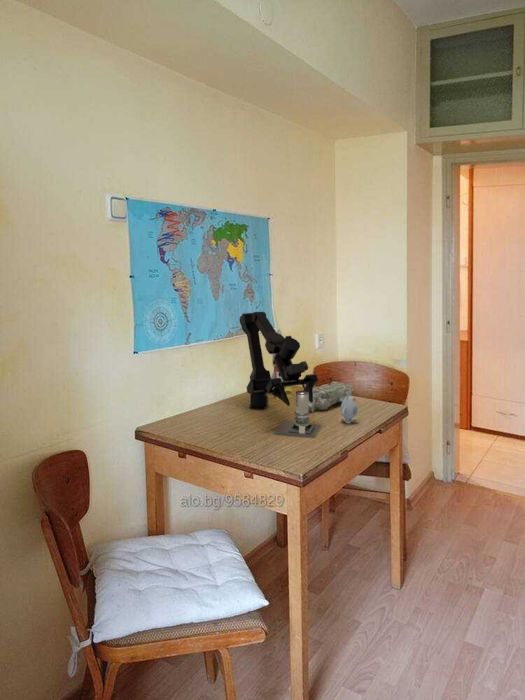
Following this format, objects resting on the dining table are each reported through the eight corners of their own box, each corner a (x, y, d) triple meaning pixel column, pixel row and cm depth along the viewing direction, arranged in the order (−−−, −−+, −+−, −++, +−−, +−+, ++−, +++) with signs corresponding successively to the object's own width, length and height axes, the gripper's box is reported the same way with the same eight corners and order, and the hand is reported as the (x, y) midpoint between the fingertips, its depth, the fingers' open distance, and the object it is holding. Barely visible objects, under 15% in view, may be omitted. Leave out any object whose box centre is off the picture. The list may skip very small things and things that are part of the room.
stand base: (274, 434, 184) (274, 424, 183) (283, 423, 195) (283, 414, 195) (314, 438, 180) (314, 428, 179) (321, 427, 191) (321, 417, 191)
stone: (363, 374, 223) (317, 397, 203) (363, 397, 226) (318, 422, 206) (339, 369, 232) (293, 390, 212) (340, 391, 235) (295, 414, 215)
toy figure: (349, 427, 191) (350, 395, 189) (334, 424, 194) (334, 392, 192) (362, 420, 199) (363, 389, 197) (347, 417, 203) (348, 386, 201)
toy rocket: (290, 392, 241) (291, 326, 236) (294, 399, 230) (294, 330, 224) (264, 392, 241) (264, 327, 236) (266, 399, 229) (266, 330, 224)
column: (292, 430, 184) (293, 393, 182) (296, 425, 189) (296, 389, 186) (307, 431, 182) (307, 394, 180) (310, 427, 187) (311, 390, 185)
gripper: (269, 356, 183) (284, 394, 175) (316, 351, 191) (332, 388, 183) (259, 374, 191) (274, 411, 183) (304, 369, 199) (320, 405, 191)
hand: (300, 403), depth 185 cm, fingers open, 9 cm apart
